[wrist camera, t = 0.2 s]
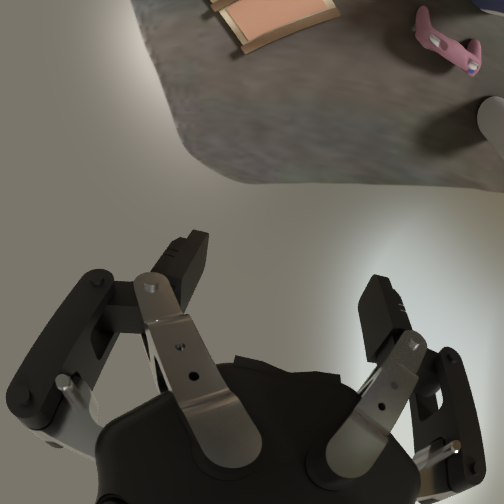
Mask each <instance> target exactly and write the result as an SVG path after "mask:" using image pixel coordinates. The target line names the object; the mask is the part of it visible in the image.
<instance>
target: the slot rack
mask: <svg viewBox="0 0 504 504" xmlns="http://www.w3.org/2000/svg"><path fill="white" fill-rule="evenodd" d="M210 1H211V2H212V3H213V4H211V5H210V6H211V7H212V9H213V10H214V11H215V12H217V11H219V12H220V14H221V15H222V16H223V18H224V19H225V20H226V22H227V23H228V25H229V26H230V27H231V29H232V30H233V32H234V33H235V34H236V36H237V37H238V39H239V40H240V42H241V43H242V44H243V46H241V49H242V50H243V52H244V53H245V54H247V53H249V52H251V51H253V50H255V49H257V48H259V47H261V46H264V45H266V44H268V43H270V42H272V41H275V40H277V39H279V38H282V37H284V36H286V35H289V34H291V33H294V32H296V31H299V30H301V29H304V28H307V27H309V26H312V25H315V24H318V23H321V22H323V21H326V20H330V19H333V18H336V17H339V16H341V14H340V12H339V10H338V9H337V7H335V5H334V3H333V1H332V0H210Z"/></svg>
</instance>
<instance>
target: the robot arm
mask: <svg viewBox="0 0 504 504" xmlns="http://www.w3.org/2000/svg"><path fill="white" fill-rule="evenodd" d="M208 239H209V233H206V232H202V231H197V230H192V232H191V233H190V234H189V236H188V238H187V239H186V238H182V237H179V238H177V239H176V240H174V241H172V242H171V243H170V245H169V246H168V247H167V249H166V250H165V252H164V253H163V255H162V256H161V257H160V259H159V260H158V261H157V263H156V264H155V266H154V267H153V268H152V270H151V271H150V272H147V273H143V274H141V275H139V276H138V277H136V279H135V280H134V281H132V282H125V281H114V277H113V275H112V273H110V272H109V271H107V270H104V269H94V270H91V271H89V272H87V273H85V274H84V275H83V276H82V278H81V279H80V280H79V282H78V283H77V284H76V285H75V287H74V288H73V289H72V291H71V292H70V293H69V295H68V296H67V297H66V299H65V300H64V302H63V303H62V304H61V305H60V307H59V308H58V309H57V311H56V312H55V314H54V315H53V317H52V318H51V319H50V321H49V322H48V324H47V325H46V327H45V328H44V330H43V331H42V332H41V334H40V335H39V337H38V339H37V340H36V342H35V343H34V345H33V347H32V348H31V349H30V351H29V353H28V354H27V356H26V357H25V359H24V361H23V363H22V364H21V366H20V367H19V369H18V371H17V373H16V374H15V376H14V378H13V380H12V382H11V383H10V385H9V387H8V389H7V392H6V403H7V406H8V408H9V409H10V411H11V412H12V413H13V414H14V415H15V416H16V417H17V418H18V419H19V420H20V421H21V422H22V423H23V425H24V426H25V427H27V428H28V429H29V430H30V431H31V432H33V433H34V434H35V435H36V436H37V437H39V438H40V439H42V440H44V441H45V442H46V443H48V444H49V445H51V446H52V447H55V448H63V447H65V448H67V449H69V450H71V451H73V452H75V453H77V454H79V455H81V456H84V457H86V458H88V459H90V460H93V461H95V462H96V465H97V470H98V481H99V485H98V486H99V487H98V495H97V499H96V502H95V504H415V502H416V501H418V502H419V503H421V504H432V503H435V502H438V501H440V500H443V499H446V498H448V497H451V496H453V495H456V494H458V493H460V492H462V491H465V490H467V489H469V488H472V487H474V486H476V485H478V484H480V483H481V482H482V481H483V479H484V477H485V474H486V462H485V455H484V449H483V443H482V436H481V431H480V426H479V422H478V417H477V412H476V408H475V404H474V400H473V396H472V392H471V389H470V386H469V382H468V378H467V375H466V372H465V369H464V365H463V362H462V359H461V357H460V355H459V354H458V353H457V352H456V351H455V350H454V349H452V348H450V347H444V348H442V350H441V351H440V352H439V353H437V352H435V351H432V350H430V349H428V348H427V343H426V341H425V339H424V338H423V337H422V336H421V335H420V334H419V333H417V332H415V331H413V330H412V327H411V324H410V321H409V319H408V316H407V313H406V312H405V311H406V310H405V307H404V306H403V302H402V299H401V297H400V296H399V294H398V293H397V292H396V291H395V290H394V289H393V288H392V285H391V283H390V280H389V278H387V277H383V276H379V275H375V274H374V275H373V276H372V277H371V279H370V281H369V283H368V284H367V287H366V288H365V290H364V292H363V294H362V296H361V298H360V300H359V304H358V312H359V317H360V322H361V327H362V333H363V339H364V345H365V350H366V357H367V362H372V363H377V366H376V368H375V369H374V370H373V371H372V373H371V374H370V376H369V377H368V378H367V380H366V381H365V382H364V384H363V385H362V386H361V388H360V389H359V391H358V392H356V391H354V390H353V389H352V388H350V387H348V386H346V385H344V384H342V383H341V379H340V375H338V374H331V373H324V372H317V371H313V372H295V373H290V372H286V371H284V370H282V369H279V368H277V367H274V366H272V365H270V364H267V363H265V362H263V361H258V360H254V359H250V358H245V357H241V356H235V359H234V363H221V364H215V363H214V361H213V359H212V358H211V356H210V354H209V352H208V350H207V348H206V346H205V344H204V342H203V340H202V338H201V336H200V334H199V332H198V330H197V328H196V326H195V324H194V322H193V320H192V318H191V317H190V315H189V314H185V315H184V312H185V310H186V308H187V306H188V303H189V301H190V299H191V297H192V295H193V293H194V290H195V288H196V286H197V284H198V282H199V280H200V277H201V275H202V273H203V270H204V267H205V262H206V255H207V247H208ZM120 333H137V334H140V337H141V340H142V344H143V347H144V350H145V353H146V355H147V359H148V361H149V365H150V368H151V371H152V375H153V378H154V382H155V385H156V388H157V390H158V393H159V395H158V396H156V397H154V398H153V399H151V400H149V401H147V402H145V403H144V404H142V405H140V406H138V407H136V408H134V409H133V410H131V411H129V412H127V413H125V414H123V415H121V416H120V417H117V418H116V419H114V420H112V421H111V422H109V423H108V424H107V425H106V426H105V427H104V428H103V427H101V426H99V425H98V413H99V405H98V402H97V400H96V398H95V396H94V395H93V393H92V391H93V388H94V386H95V384H96V382H97V380H98V377H99V375H100V373H101V371H102V369H103V367H104V364H105V362H106V360H107V358H108V356H109V354H110V352H111V350H112V348H113V346H114V344H115V342H116V340H117V338H118V336H119V334H120ZM440 388H441V391H442V396H443V403H442V406H441V408H440V409H439V410H438V405H437V399H436V394H435V393H436V392H437V391H438V390H439V389H440ZM408 399H409V402H410V409H411V417H412V427H413V437H414V451H415V455H414V457H413V459H411V458H410V457H409V455H408V454H407V453H406V451H405V450H404V449H403V448H402V446H401V445H400V444H399V443H398V442H397V440H396V439H395V438H394V437H393V435H392V434H391V433H390V432H391V430H392V428H393V427H394V425H395V423H396V421H397V420H398V418H399V416H400V414H401V412H402V410H403V409H404V407H405V405H406V403H407V401H408Z"/></svg>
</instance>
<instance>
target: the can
mask: <svg viewBox="0 0 504 504" xmlns="http://www.w3.org/2000/svg"><path fill="white" fill-rule="evenodd" d="M477 123H478V127H479V129H480V131H481V132H482V134H483V135H484V136H485V137H486V139H487V140H488V141H489V142H490V144H491V145H492V146H493V147H494V149H495V150H496V151H497V153H498V154H499V155H500V157H501V158H502V159H503V161H504V99H503V98H500V97H497V96H495V97H490V98H488V99H486V100H485V101H484V102H483V103H482V104H481V106H480V108H479V110H478V114H477Z"/></svg>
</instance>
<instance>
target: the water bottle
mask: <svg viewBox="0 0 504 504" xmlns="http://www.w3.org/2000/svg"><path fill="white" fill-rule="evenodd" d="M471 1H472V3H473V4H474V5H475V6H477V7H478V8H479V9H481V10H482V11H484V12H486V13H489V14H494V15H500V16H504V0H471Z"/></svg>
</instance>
